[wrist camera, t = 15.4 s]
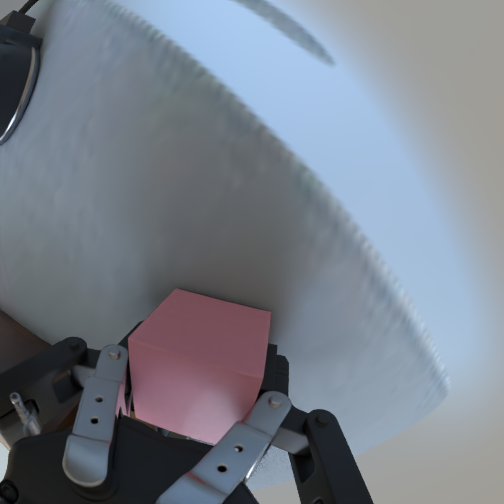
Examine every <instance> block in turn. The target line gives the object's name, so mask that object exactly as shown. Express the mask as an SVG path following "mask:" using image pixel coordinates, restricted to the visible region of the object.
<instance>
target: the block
mask: <svg viewBox="0 0 504 504" xmlns="http://www.w3.org/2000/svg"><path fill="white" fill-rule="evenodd" d="M270 322H271V312H269V311H264V310H260V309H256V308H251V307H247V306H243V305H239V304H235V303H231V302H226V301H223V300H219V299H215V298H211V297H207V296H203V295H199V294H196V293H192V292H188V291H184V290H181V289H177V288H176V289H175V290H174V291H173V292H172V293H171V294H170V295H169V296H168V297H167V298H166V299H165V300H164V301H163V302H162V303H161V304H160V305H159V306H158V307H157V308H156V309H155V310H154V311H153V312H152V313H151V314H150V315H149V316H148V317H147V318H146V319H145V320H144V321H143V323H142V324H141V325H140V326H139V327H138V328H137V329H136V330H135V331H134V332H133V333H132V334H131V335H130V336H129V337H128V350H129V364H130V376H131V385H132V394H133V402H134V409H135V416H136V418H138V419H140V420H143V421H145V422H148V423H150V424H153V425H155V426H158V427H161V428H164V429H166V430H169V431H172V432H175V433H178V434H181V435H184V436H188V437H191V438H194V439H198V440H201V441H205V442H208V443H212V444H216V443H217V442H218V441H219V440H220V439H221V438H222V437H223V436H224V435H225V433H226V432H227V431H228V430H229V429H230V428H231V427H232V426H233V424H234V423H235V422H236V421H238V420H240V421H241V420H242V419H243V418H244V417H245V416H246V414H247V413H248V412H249V411H250V409H251V408H252V407H253V406H254V404H255V402H256V399H257V396H258V393H259V390H260V387H261V384H262V381H263V377H264V369H265V362H266V354H267V346H268V338H269V330H270Z"/></svg>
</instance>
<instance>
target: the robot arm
mask: <svg viewBox="0 0 504 504" xmlns="http://www.w3.org/2000/svg"><path fill="white" fill-rule="evenodd" d="M37 1H39V0H29V1H28V2H27V3H26V4H25V5H24V6H23V7H22V8H21V9H20V10H19V12H17V11H12V12H11V13H10V14H8V15H7V16H5V17H4V18H3V19H2V20H0V145H1V144H3V143H4V142H5V141H6V140H7V139H8V138H9V137H10V135H11V134H12V133H13V131H14V129H15V128H16V126H17V124H18V123H19V121H20V119H21V117H22V115H23V113H24V110H25V108H26V106H27V103H28V101H29V98H30V96H31V93H32V90H33V87H34V83H35V80H36V76H37V72H38V66H39V50H38V49H39V46H40V44H41V41H42V39H41V38H39V37H36V36H34V35H31V34H29V33H30V30H31V28H32V26H33V24H34V22H35V20H36V19H34V18H32V17H29V16H27V15H25V13H26V12H27V11H28V10H29V9H30V8H31V7H32V6H33V5H34V4H35V3H36V2H37ZM143 321H144V320H143ZM143 321H141V322H139V323H138V324H137V325H136V326H135V327H134V328H133V329H132V330H131V331H130V332H129V333H128V334H127V335H126V336H125V337H124V338H123V340H122V341H121V342H120V343H119V344H118V345H108V346H105V347H104V348H103V349H102V350H101V351H100V350H94V349H89V348H87V344H86V342H85V341H84V340H83V339H82V338H79V337H69V338H66V339H64V340H62V341H60V342H58V343H57V344H55V345H53V346H51V347H49V348H47V349H45V350H43V351H41V352H39V353H37V354H35V355H34V356H32V357H30V358H28V359H26V360H24V361H22V362H20V363H18V364H16V365H14V366H13V367H11V368H9V369H7V370H5V371H3V372H1V373H0V435H1V437H2V438H3V439H4V440H5V441H6V442H7V444H8V445H9V447H10V448H11V449H10V452H9V456H8V465H7V470H6V473H5V476H4V479H3V480H2V481H1V483H0V504H259V503H258V502H257V500H256V499H255V498H254V496H253V494H252V493H251V491H250V490H249V489H248V487H247V486H246V483H247V481H248V480H249V479H250V477H251V476H252V474H253V473H254V471H255V469H256V468H257V466H258V465H259V463H260V462H261V460H262V459H263V458H264V456H265V455H266V453H267V452H268V450H269V448H270V447H271V445H273V446H275V447H278V448H280V449H283V450H285V451H287V452H288V455H289V459H290V462H291V466H292V470H293V474H294V478H295V482H296V485H297V490H298V493H299V497H300V501H301V504H373V501H372V499H371V496H370V494H369V492H368V489H367V487H366V485H365V482H364V480H363V478H362V476H361V473H360V471H359V469H358V466H357V465H356V462H355V460H354V457H353V455H352V453H351V450H350V448H349V446H348V444H347V441H346V439H345V437H344V435H343V432H342V430H341V428H340V426H339V423H338V421H337V419H336V417H335V416H334V415H333V414H332V413H330V412H329V411H326V410H322V409H317V410H313V411H311V412H310V413H306V412H304V411H301V410H299V409H297V408H295V407H294V406H293V405H292V404H291V400H290V399H289V398H288V385H289V377H288V376H289V362H288V361H287V359H286V357H285V356H281V355H277V345H274V344H270V343H268V346H267V354H266V362H265V369H264V377H263V381H262V384H261V387H260V390H259V393H258V396H257V399H256V402H255V404H254V406H253V407H252V408H251V409H250V411H249V412H248V413H247V414H246V416H245V417H244V418H243V419H242V420H241V421H240V420H238V421H236V422H235V423H234V424H233V426H232V427H231V428H230V429H229V430H228V431H227V432H226V433H225V435H224V436H223V437H222V438H221V439H220V440H219V441H218V442H217V443H216V445H215V446H212V445H208V444H204V443H200V442H197V441H194V440H188V439H179V438H171V437H166V436H163V435H162V434H160V433H158V432H157V431H155V430H154V429H152V428H151V427H149V426H148V425H146V424H145V423H142V422H140V421H137V420H135V419H133V418H130V408H131V400H132V385H131V376H130V364H129V350H128V337H129V336H130V335H131V334H132V333H133V332H134V331H135V330H136V329H137V328H138V327H139V326H140V325H141V324H142V323H143ZM66 371H67V372H68V375H66V376H65V377H63V378H61V379H60V380H58V381H57V382H55V383H53V380H54V379H55V378H56V377H57V376H59V375H61V374H62V373H64V372H66ZM52 383H53V384H52ZM79 399H81V401H80V404H79V408H78V412H77V415H76V419H75V423H74V426H73V427H69V428H65V429H61V430H57V431H53V432H48V433H44V434H41V433H40V432H41V430H42V427H43V425H44V424H45V423H46V422H48V421H49V420H51V419H52V418H54V417H55V416H57V415H58V414H59V413H61V412H62V411H64V410H65V409H67V408H68V407H69V406H71V405H72V404H74V403H75V402H77V401H78V400H79Z"/></svg>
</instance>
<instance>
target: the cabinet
mask: <svg viewBox="0 0 504 504" xmlns="http://www.w3.org/2000/svg"><path fill="white" fill-rule="evenodd" d="M49 347H51V345H49V344H48V343H46V342H44V341H43V340H41V339H40V338H38V337H37V336H35V335H34V334H32V333H31V332H29V331H28V330H27V329H25V328H24V327H22V326H21V325H20V324H18V323H17V322H16V321H14V320H13V319H12V318H10V317H9V316H8V315H6V314H5V313H4V312H3V311H1V310H0V373H1V372H3V371H5V370H7V369H9V368H11V367H13V366H14V365H16V364H18V363H20V362H22V361H24V360H26V359H28V358H30V357H32V356H34V355H35V354H37V353H39V352H41V351H43V350H45V349H47V348H49ZM66 375H68V372H67V371H66V372H64V373H62V374H61V375H59V376H57V377H56V378H55V379H54V380H53V383H55V382H57V381H58V380H60V379H61V378H63V377H65V376H66ZM53 383H52V384H53ZM80 401H81V399H79V400H78V401H77V402H75V403H74V404H72V405H71V406H69V407H68V408H67V409H65V410H64V411H62V412H61V413H59V414H58V415H57V416H55V417H54V418H52V419H51V420H49V421H48V422H46V423H45V424H44V425H43V427H42V430H41V432H40V433H41V434H44V433H48V432H53V431H57V430H61V429H65V428H66V426H67V425H68V424H69V423H70V421H71V420H72V419H73V418H74V417H75V415H76V414H77V412H78V408H79V404H80ZM0 442H1V443H2V444H3V445H4V446H5V447H6V448H7V449H8V450H9V451H10V449H11V448H10V447H9V445H8V444H7V442H6V441H5V440H4V439H3V438H2V437H1V435H0Z"/></svg>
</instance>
